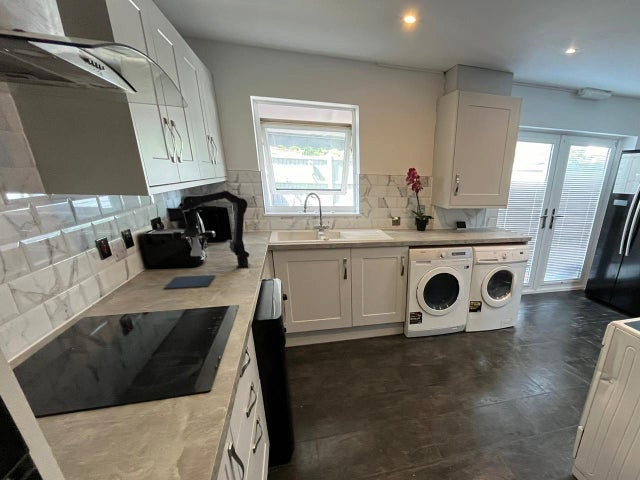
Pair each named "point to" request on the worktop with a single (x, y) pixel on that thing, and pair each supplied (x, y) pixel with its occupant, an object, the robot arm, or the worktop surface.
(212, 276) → the mat
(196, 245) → the flask
